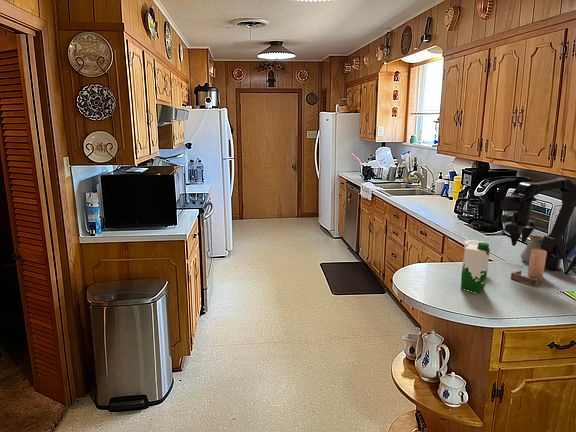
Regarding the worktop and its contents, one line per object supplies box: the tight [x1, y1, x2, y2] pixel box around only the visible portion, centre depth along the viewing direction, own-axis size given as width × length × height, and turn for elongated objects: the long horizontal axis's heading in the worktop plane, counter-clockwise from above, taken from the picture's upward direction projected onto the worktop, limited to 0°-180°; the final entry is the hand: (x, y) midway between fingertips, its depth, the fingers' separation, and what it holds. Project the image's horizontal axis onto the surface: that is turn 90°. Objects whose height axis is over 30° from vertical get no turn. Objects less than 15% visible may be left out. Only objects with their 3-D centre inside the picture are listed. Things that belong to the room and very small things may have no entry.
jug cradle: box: [510, 269, 544, 286], centre depth 189 cm, size 8×10×2 cm
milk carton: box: [460, 242, 491, 294], centre depth 176 cm, size 9×9×20 cm
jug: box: [526, 249, 547, 279], centre depth 192 cm, size 8×6×12 cm
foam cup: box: [464, 239, 486, 249], centre depth 199 cm, size 10×9×13 cm
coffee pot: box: [501, 228, 544, 265], centre depth 213 cm, size 21×12×15 cm, turn 60°
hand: (518, 244), depth 197 cm, fingers open, 9 cm apart
